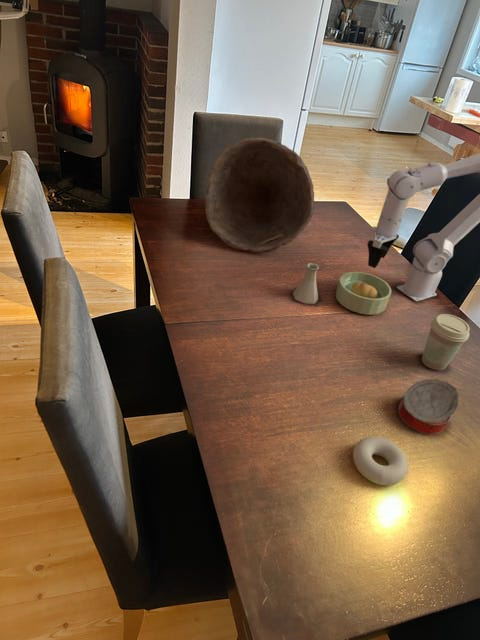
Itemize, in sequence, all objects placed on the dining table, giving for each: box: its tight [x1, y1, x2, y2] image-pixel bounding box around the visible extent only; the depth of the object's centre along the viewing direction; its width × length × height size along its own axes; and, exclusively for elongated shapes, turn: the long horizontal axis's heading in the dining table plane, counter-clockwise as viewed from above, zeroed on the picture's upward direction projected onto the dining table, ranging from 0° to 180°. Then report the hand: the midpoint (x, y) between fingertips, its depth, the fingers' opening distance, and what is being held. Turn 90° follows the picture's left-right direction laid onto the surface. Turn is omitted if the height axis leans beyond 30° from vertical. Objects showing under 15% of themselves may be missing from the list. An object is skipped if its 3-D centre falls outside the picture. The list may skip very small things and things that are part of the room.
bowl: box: [204, 137, 315, 253], centre depth 156 cm, size 34×35×30 cm
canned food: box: [397, 378, 459, 435], centre depth 97 cm, size 11×10×10 cm
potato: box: [351, 282, 377, 299], centre depth 132 cm, size 7×4×4 cm, turn 58°
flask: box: [292, 262, 320, 305], centre depth 128 cm, size 7×7×10 cm
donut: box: [352, 435, 409, 487], centre depth 86 cm, size 10×4×10 cm
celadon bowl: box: [335, 271, 393, 316], centre depth 131 cm, size 14×14×6 cm
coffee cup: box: [421, 313, 471, 372], centre depth 111 cm, size 8×8×12 cm
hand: (376, 261), depth 133 cm, fingers open, 7 cm apart
